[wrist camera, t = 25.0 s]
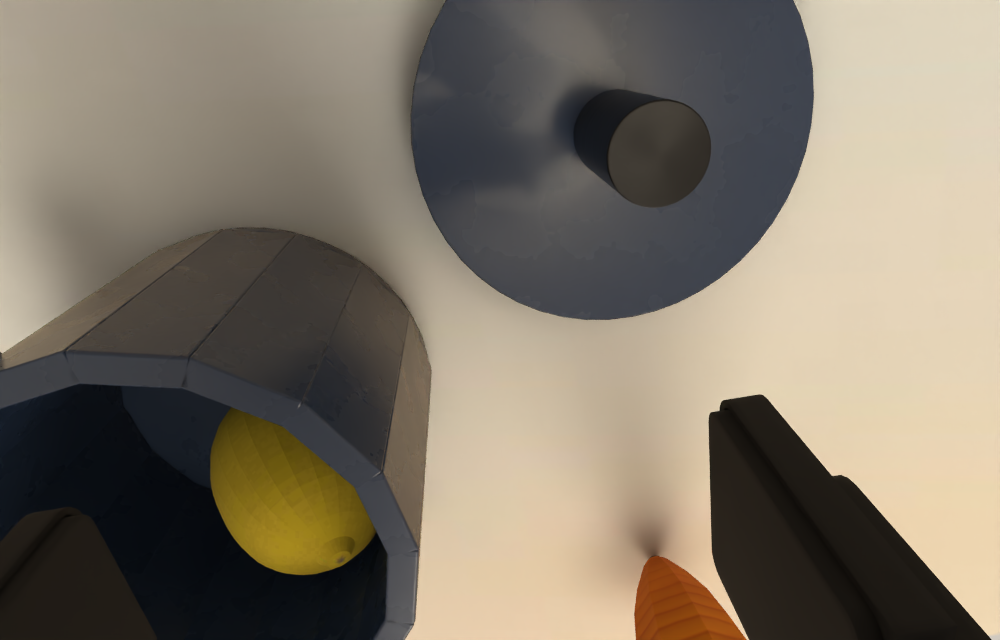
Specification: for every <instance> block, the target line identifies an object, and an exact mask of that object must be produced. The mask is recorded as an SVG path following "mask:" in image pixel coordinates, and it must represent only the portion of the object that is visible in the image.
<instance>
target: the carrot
mask: <svg viewBox="0 0 1000 640" xmlns="http://www.w3.org/2000/svg"><path fill="white" fill-rule="evenodd" d="M634 616H635V630H636V640H746V638H745V637H744V636H743V634H742V633H741V632H740V630H739V629H738V628H737V626H736V625H735V623H734V622H733V621H732V619H731V618H730V617H729V615H728V614H727V613H726V611H725V610H724V609H723V608H722V606H721V605H720V604H719V603H718V602H717V600H716V599H715V598H714V597H713V595H712V594H711V593H710V592H709V590H708V589H707V588H706V587H705V586H703V585H702V584H701V583H700V582H699V581H698V580H696V579H695V578H694V577H693V576H692V575H691V574H689V573H688V572H687V571H685V570H684V569H682V568H681V567H679V566H678V565H676V564H674V563H673V562H671V561H670V560H668V559H666V558H663V557H660V556H653V557H651V558H649V559H648V561H647V562H646V564H645V565H644V567H643V571H642V574H641V578H640V581H639V585H638V588H637V596H636V604H635V613H634Z"/></svg>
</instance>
